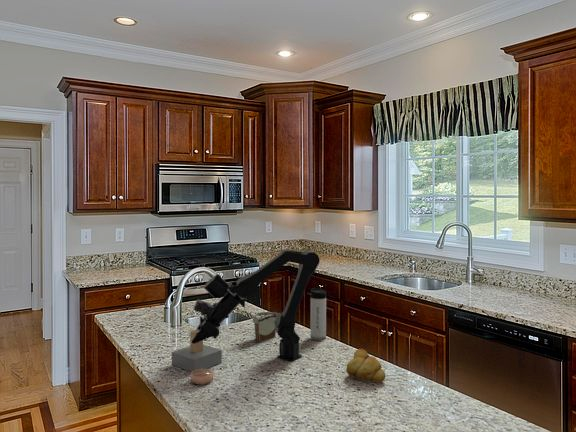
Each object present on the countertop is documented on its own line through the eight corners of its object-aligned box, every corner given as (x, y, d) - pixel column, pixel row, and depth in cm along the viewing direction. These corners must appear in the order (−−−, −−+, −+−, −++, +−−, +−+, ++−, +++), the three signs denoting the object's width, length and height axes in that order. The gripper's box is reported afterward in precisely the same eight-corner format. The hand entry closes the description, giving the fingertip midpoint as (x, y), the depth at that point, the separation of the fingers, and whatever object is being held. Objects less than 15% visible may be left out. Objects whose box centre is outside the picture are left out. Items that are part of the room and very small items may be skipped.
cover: (221, 362, 163) (221, 330, 162) (194, 372, 153) (194, 338, 153) (198, 355, 170) (198, 324, 170) (171, 364, 161) (171, 331, 160)
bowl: (218, 380, 147) (217, 371, 147) (200, 388, 142) (200, 378, 142) (203, 375, 152) (202, 366, 151) (185, 382, 146) (185, 373, 146)
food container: (266, 333, 197) (266, 310, 196) (277, 336, 193) (277, 312, 192) (246, 340, 187) (245, 316, 186) (257, 344, 183) (257, 318, 183)
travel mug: (317, 334, 196) (317, 286, 194) (329, 337, 191) (329, 289, 190) (306, 337, 191) (306, 289, 190) (318, 341, 186) (319, 291, 185)
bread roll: (391, 381, 148) (391, 356, 147) (371, 389, 141) (371, 363, 141) (360, 369, 158) (360, 345, 157) (340, 376, 151) (340, 351, 151)
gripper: (206, 286, 170) (176, 318, 169) (208, 297, 152) (174, 333, 151) (228, 306, 172) (198, 338, 171) (233, 320, 154) (199, 355, 153)
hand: (192, 340), depth 161 cm, fingers closed on cover, 4 cm apart
